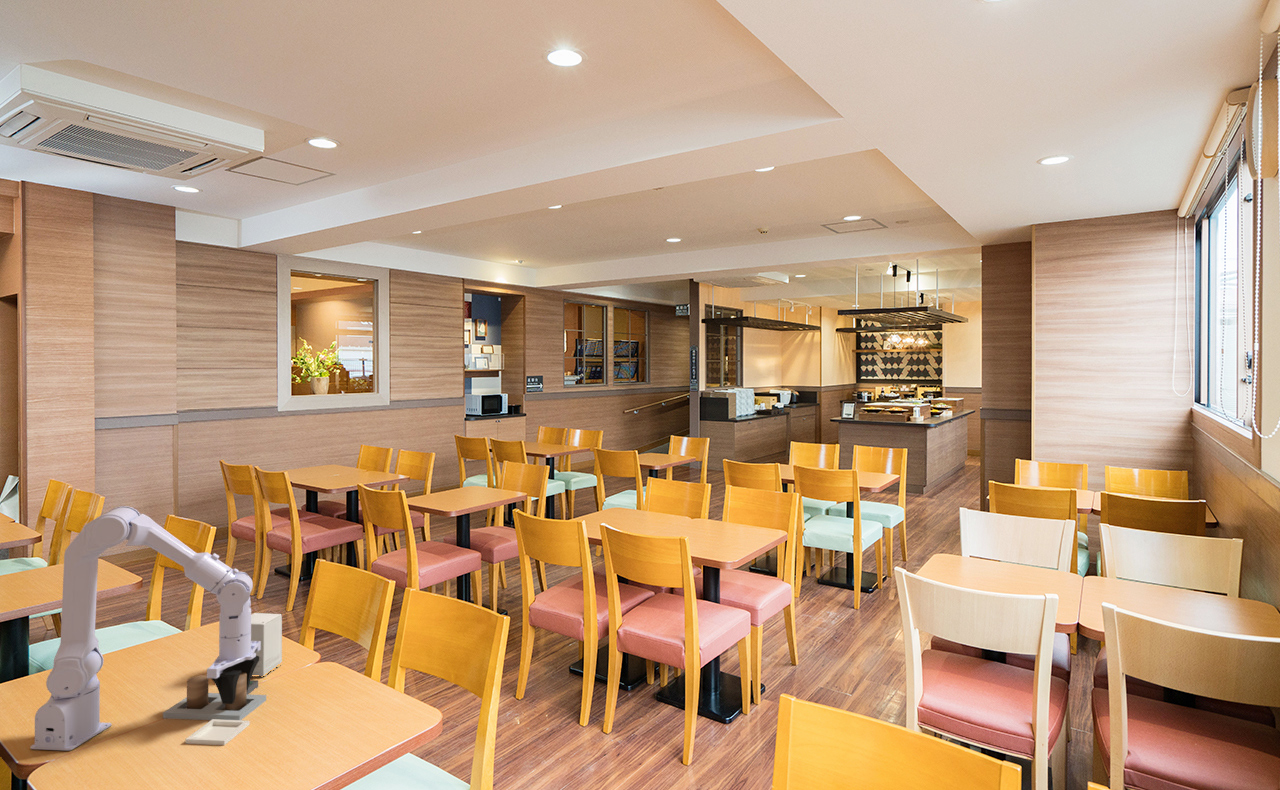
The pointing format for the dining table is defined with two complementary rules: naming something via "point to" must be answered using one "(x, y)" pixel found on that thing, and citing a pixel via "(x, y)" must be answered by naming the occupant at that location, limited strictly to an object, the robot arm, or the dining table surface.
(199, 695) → the cylinder
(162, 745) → the dining table surface
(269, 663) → the supplement box
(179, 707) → the grey frame
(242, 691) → the cylinder
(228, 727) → the white square tray
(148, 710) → the dining table surface
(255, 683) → the switch box
